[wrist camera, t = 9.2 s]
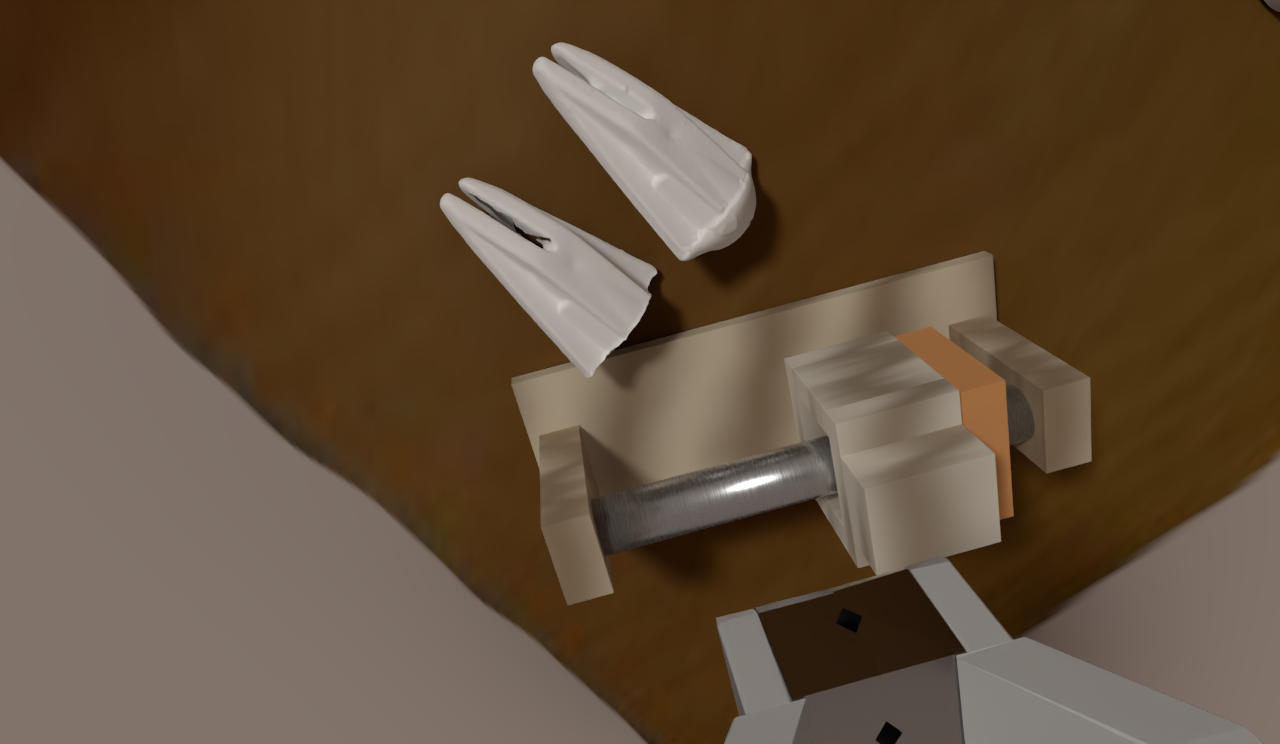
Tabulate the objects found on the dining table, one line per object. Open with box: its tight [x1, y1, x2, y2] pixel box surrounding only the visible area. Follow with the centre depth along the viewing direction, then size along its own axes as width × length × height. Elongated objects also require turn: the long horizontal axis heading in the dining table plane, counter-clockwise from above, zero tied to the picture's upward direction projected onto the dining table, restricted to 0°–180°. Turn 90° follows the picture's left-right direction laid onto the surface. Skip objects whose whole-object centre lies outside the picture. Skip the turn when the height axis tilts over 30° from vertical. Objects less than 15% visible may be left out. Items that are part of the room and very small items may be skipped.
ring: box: [894, 327, 1014, 520], centre depth 36 cm, size 2×6×6 cm, turn 13°
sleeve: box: [784, 331, 1001, 575], centre depth 35 cm, size 5×7×10 cm
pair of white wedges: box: [440, 42, 756, 378], centre depth 35 cm, size 12×4×11 cm
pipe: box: [591, 385, 1035, 556], centre depth 36 cm, size 19×3×3 cm, turn 103°
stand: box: [512, 251, 1091, 605], centre depth 38 cm, size 24×10×9 cm, turn 103°
